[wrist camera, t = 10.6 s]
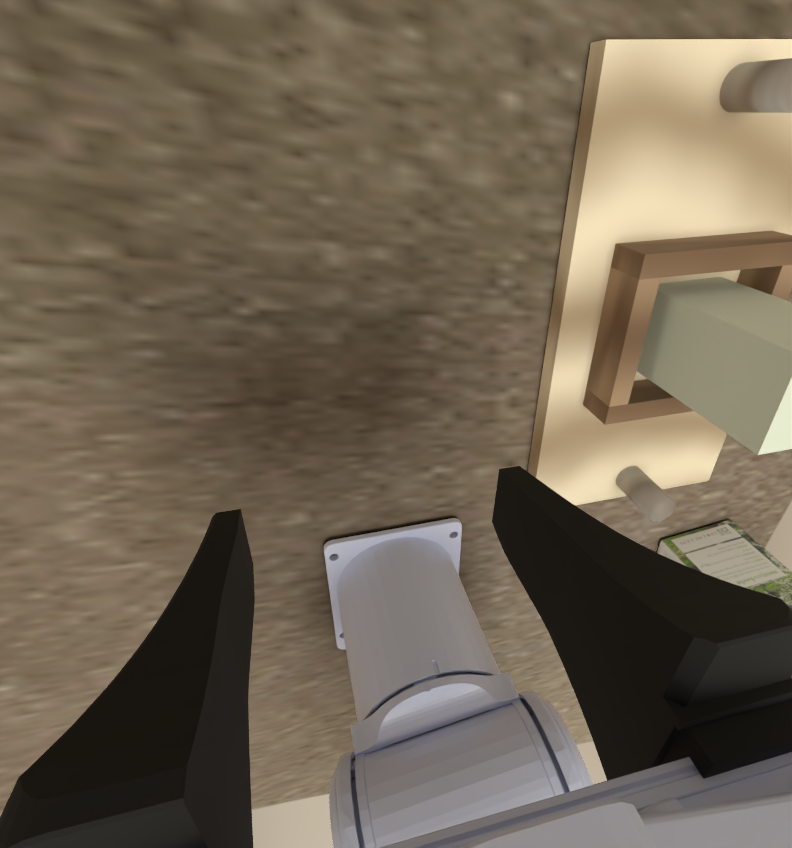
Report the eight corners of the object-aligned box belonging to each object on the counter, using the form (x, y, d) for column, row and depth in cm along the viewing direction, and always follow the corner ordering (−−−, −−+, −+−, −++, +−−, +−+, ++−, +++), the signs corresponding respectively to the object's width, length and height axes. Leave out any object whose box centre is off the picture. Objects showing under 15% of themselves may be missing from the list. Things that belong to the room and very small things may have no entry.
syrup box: (647, 590, 38) (824, 809, 26) (658, 535, 35) (867, 758, 23) (714, 569, 39) (918, 774, 27) (731, 514, 36) (971, 719, 24)
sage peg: (696, 354, 26) (846, 438, 19) (626, 364, 25) (757, 455, 19) (720, 276, 24) (898, 341, 17) (645, 284, 23) (800, 355, 16)
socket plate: (696, 471, 32) (746, 512, 29) (522, 502, 30) (555, 550, 27) (857, 41, 21) (971, 29, 17) (590, 42, 18) (663, 27, 15)
